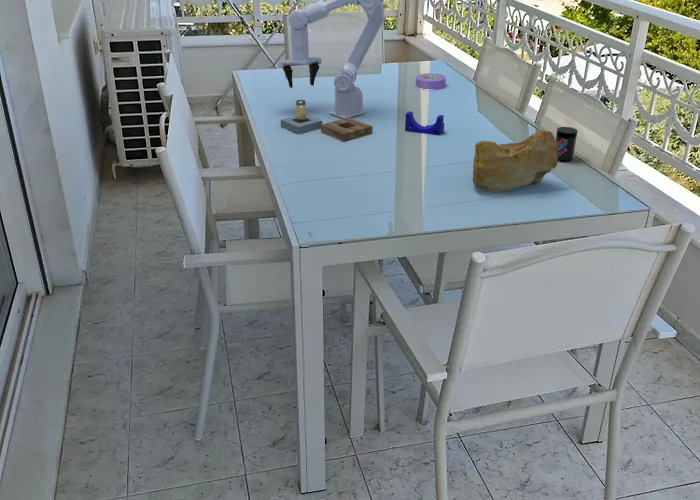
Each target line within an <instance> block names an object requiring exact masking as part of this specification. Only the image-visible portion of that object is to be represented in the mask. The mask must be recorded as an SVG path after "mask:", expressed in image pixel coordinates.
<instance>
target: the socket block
mask: <svg viewBox="0 0 700 500" xmlns="http://www.w3.org/2000/svg"><path fill="white" fill-rule="evenodd" d="M320 133H322V134H325V135H327V136H330V137H332V138H335V139H336V140H339V141H342V142H348V141H351V140H354V139H355V140H356V139H358V138H361V137H364V136H369V135H371V134H373V125H371V124H368V123H366V122H363V121H360V120H357V119H355V118H353V117H348V118H344V119H343V118H341V119H337V120H333V121H330V122H326V123H322V125H321V128H320Z"/></svg>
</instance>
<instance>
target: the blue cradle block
mask: <svg viewBox="0 0 700 500" xmlns="http://www.w3.org/2000/svg"><path fill="white" fill-rule="evenodd" d="M413 113H414V112H413V111H410V110H409V111H408V110H407V112H406V113H405V121H404V132H410V133H415V134H416V133H417V134H425V135H433V136H434V135H435V136H441V135H442V134H443V133H444V132H445V122H444V119H445V116H444V115H445V114H444V115H443V114H438V115H437V117H436V121H435V122H434V123H433V124H429V125H428V124H427V125H425V126H424V125H421V124H419V123H418V122H417V121H416V120H415V119H416V118H415V117H414V114H413Z"/></svg>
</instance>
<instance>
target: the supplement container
mask: <svg viewBox="0 0 700 500" xmlns="http://www.w3.org/2000/svg"><path fill="white" fill-rule="evenodd" d="M577 136H578V129H577V128H574V127H572V126H571V127H570V126H559V127H557V128H556V134H555V140H556V142H557V146H558V159H557V160H558V162H560V163H568V162H572V161H573V159H574V154H575V148H576V142H577Z"/></svg>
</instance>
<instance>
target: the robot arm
mask: <svg viewBox="0 0 700 500" xmlns="http://www.w3.org/2000/svg"><path fill="white" fill-rule="evenodd" d="M384 1H385V0H328V1H325V0H313V1H312V3H309V4H307V5H305V6H304V5H301V6H300V7H299V8H297V9H295V10H294V11H292V12H291V13H290V15H289V17H288V24H289V25H290V38H291V39H290V41H291V43H290V44H291V45H290V46H291V58H289V59H288V58H287V59H282V60H279V62H278V63H279V67H280V68H281V69H282V70H283V72H284V74H285V77H286V80H287V83H288V87H289V88H290V89H293V86H294V85H293V69H292V67H297V66H298V67H299V66H307V65H308V69H309V84H310V86H311V87H313V86H314V85H315V80H316V76H317V74H318V71H319V70H320V65H322V58H321V57H319V56H317V57H316V56H315V57H313V56H312V57H309V55H310V53H309V31H308V24H309V25H311V24H313V23H316V22H318V21H321V20H323V19H325V18H328V16H329V13H330V12H332V11H335V10H337V9H340V8H342V7H345V6H348V5H354V6H359V5H360V7H361V8H362V9H363V10H364V12H365V14H366V16H367V20H368V21H367V23H366V25H365V26H364V28H363V30H362V32H361V33H360V35H359V38H358V40H357V42H356V43H355V45H354V47H353V49H352V51H351V53H350V55H349V57H348V58H347V61H346V62H345V64H344V65H343V67H342V68H341V69H340V70H339V72H338V74H336V75H335V77H334V79H333V86H334V104H335V105H334V107H335V109H334V111H330V112H329V114H330V115H333V116H335V117H337V118H341V119H344V118H348V117H350V118H353V117H357V116H360V115H364V114H365V112H364V111H363V110H364V109H363V106H364V105H363V104H364V102H363V100H364V98H363V97H364V96H363V92H362V89H360V88H359V87H357V86H355V84H354V83H355V82H356V80H357V73H358V71H359V68H360V66H361V64H362V62H363V60H364V59H365V57H366V55H367V53H368V51H369V49H370V47H372V46H371V45H372V44H373V42H374V40H375V38H376V36H377V35H378V33H379V30H380V29H381V27H382V25H383V23H384V21H385V7H384V6H385V5H384V3H385V2H384Z"/></svg>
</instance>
